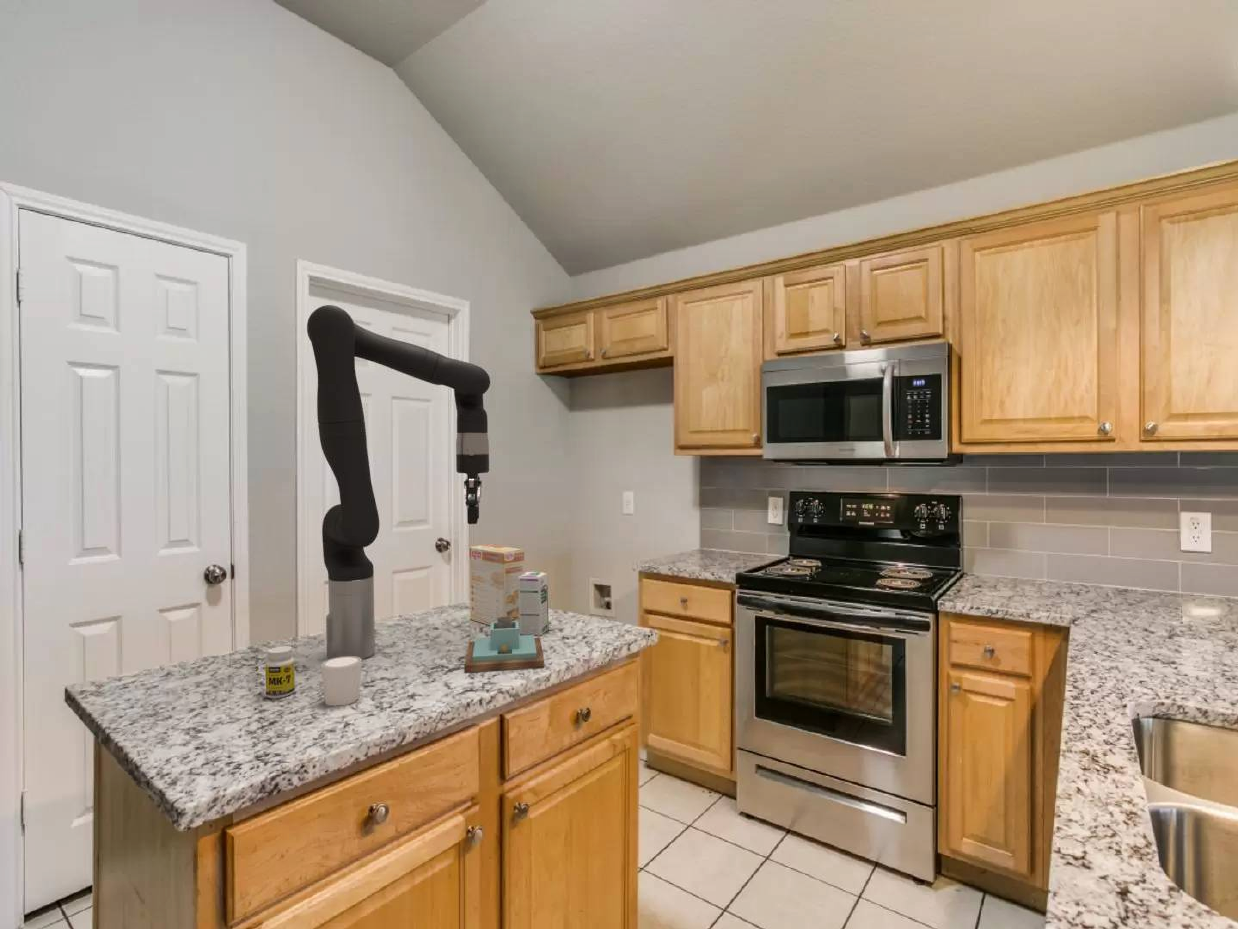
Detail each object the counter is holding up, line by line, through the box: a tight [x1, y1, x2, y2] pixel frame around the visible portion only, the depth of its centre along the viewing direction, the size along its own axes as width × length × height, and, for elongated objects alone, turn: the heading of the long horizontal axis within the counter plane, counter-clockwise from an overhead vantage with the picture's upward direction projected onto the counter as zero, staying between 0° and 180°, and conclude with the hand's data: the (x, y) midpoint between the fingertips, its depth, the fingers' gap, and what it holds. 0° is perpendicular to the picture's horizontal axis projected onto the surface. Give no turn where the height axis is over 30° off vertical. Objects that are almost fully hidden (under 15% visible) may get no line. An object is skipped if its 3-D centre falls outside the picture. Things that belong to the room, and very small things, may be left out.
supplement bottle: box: [264, 645, 296, 699], centre depth 119 cm, size 5×5×8 cm
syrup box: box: [518, 571, 550, 637], centre depth 158 cm, size 6×6×14 cm
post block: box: [464, 617, 545, 674], centre depth 139 cm, size 16×16×8 cm
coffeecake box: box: [469, 543, 525, 627], centre depth 167 cm, size 15×7×20 cm, turn 46°
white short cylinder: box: [320, 656, 363, 706], centre depth 116 cm, size 7×7×7 cm
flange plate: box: [473, 621, 537, 662], centre depth 139 cm, size 13×13×6 cm
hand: (473, 521), depth 151 cm, fingers open, 8 cm apart
